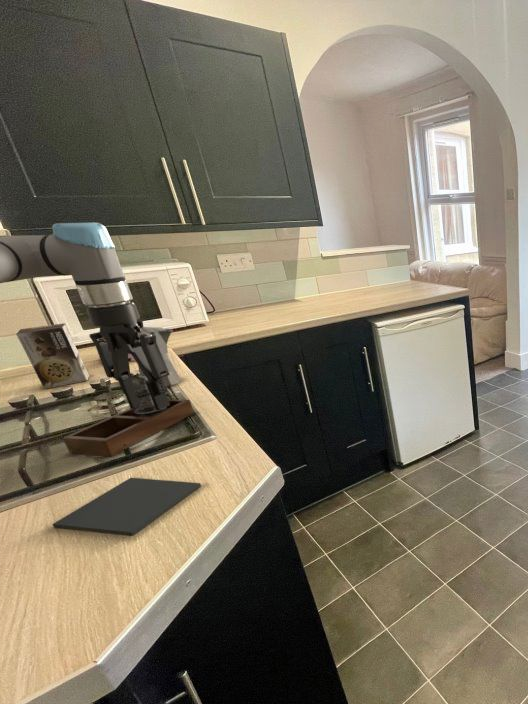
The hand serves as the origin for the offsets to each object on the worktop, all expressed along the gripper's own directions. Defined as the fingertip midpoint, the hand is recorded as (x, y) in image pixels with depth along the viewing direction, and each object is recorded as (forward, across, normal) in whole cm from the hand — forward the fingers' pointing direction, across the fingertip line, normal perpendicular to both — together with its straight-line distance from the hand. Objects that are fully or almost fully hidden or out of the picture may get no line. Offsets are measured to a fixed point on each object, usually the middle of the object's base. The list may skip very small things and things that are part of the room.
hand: (150, 406), depth 94 cm
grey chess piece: (+4, 0, 0) cm, 4 cm away
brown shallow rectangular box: (+4, 0, +4) cm, 6 cm away
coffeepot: (+4, +22, -21) cm, 30 cm away
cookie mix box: (+4, +51, -20) cm, 55 cm away
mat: (+4, -24, +26) cm, 36 cm away
